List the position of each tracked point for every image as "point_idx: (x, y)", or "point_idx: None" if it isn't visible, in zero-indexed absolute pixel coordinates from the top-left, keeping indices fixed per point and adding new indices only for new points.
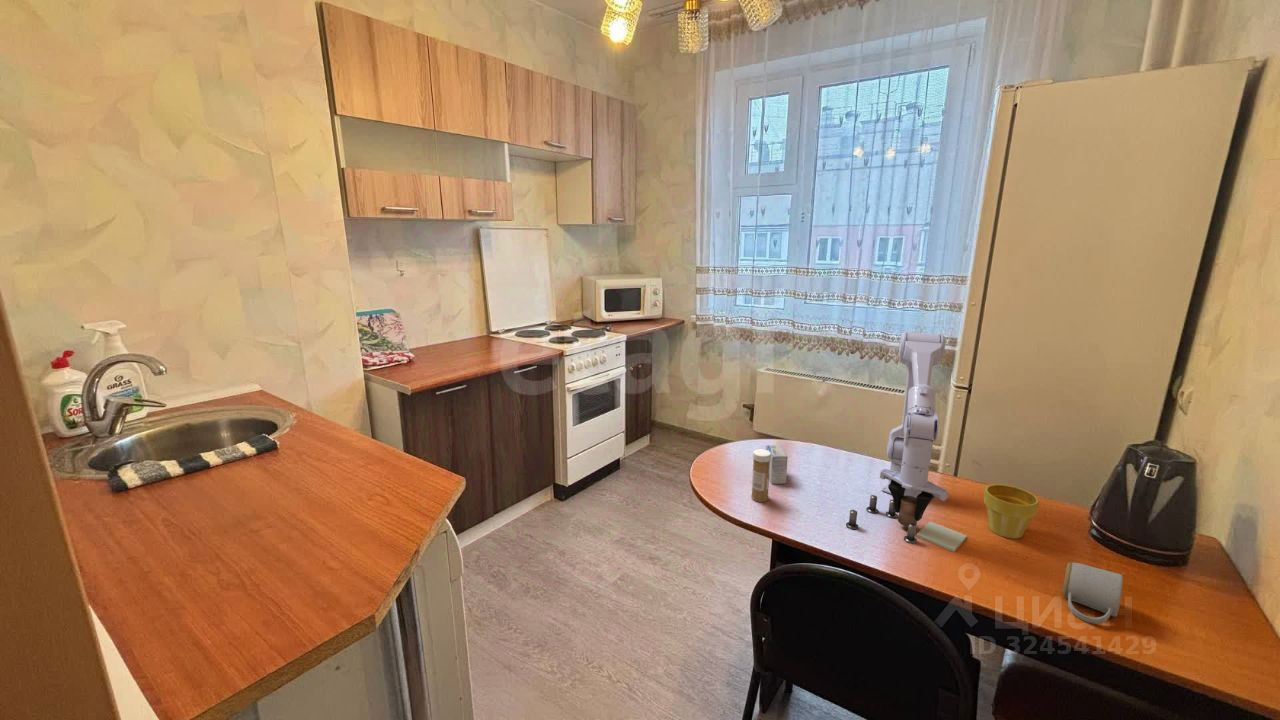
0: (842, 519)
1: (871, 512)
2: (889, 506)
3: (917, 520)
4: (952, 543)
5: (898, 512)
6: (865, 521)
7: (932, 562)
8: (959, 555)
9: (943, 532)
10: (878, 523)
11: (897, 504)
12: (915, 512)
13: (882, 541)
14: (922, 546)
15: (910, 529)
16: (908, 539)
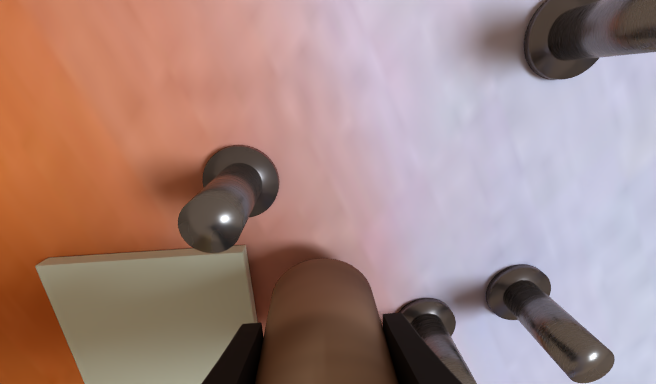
0: (638, 68)
1: (515, 268)
2: (460, 356)
3: (244, 324)
4: (82, 309)
5: (383, 320)
6: (511, 165)
7: (25, 55)
8: (13, 249)
9: (170, 361)
10: (445, 204)
11: (414, 367)
12: (259, 375)
13: (345, 26)
14: (169, 177)
15: (214, 186)
16: (241, 164)
